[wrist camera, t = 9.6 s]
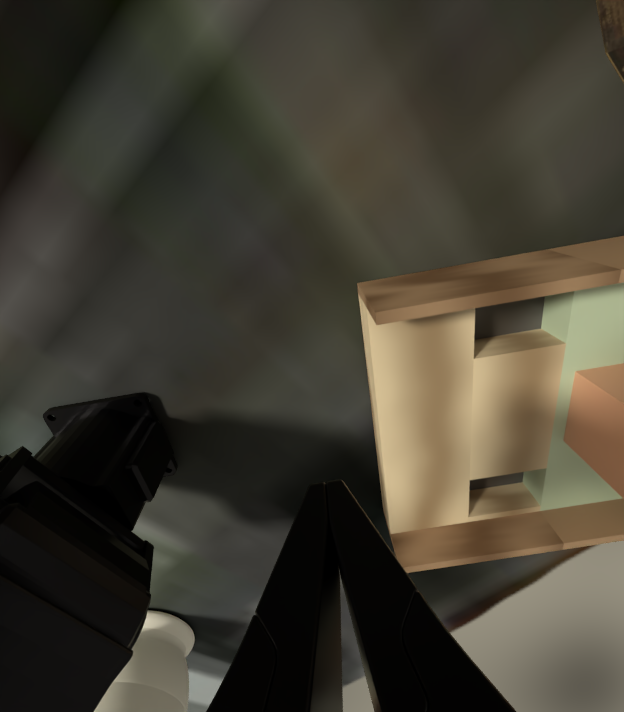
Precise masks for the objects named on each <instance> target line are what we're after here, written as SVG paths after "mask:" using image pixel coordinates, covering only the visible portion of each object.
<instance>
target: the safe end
mask: <svg viewBox="0 0 624 712" xmlns="http://www.w3.org/2000/svg"><path fill="white" fill-rule="evenodd" d="M547 250H551V251H555V252H558V253H562V254H566V255H569V256H573V257H577V258H580V259H584V260H588V261H592V262H595V263H599V264H603V265H606V266H610V267H614V268H617V269H621V274H620V279H619V283H618V284H612V285H606V286H600V287H595V288H589V289H583V290H577V291H572V292H566V293H560V294H554V295H549V296H545V300H544V308H543V317H542V325H541V329H543V330H544V331H546V332H548V333H549V334H551V335H553V336H554V337H556V338H558V339H559V340H561V341H563V342H564V343H566V347H565V354H564V360H563V367H562V373H561V379H560V386H559V392H558V399H557V405H556V411H555V418H554V424H553V431H552V437H551V443H550V450H549V456H548V463H547V468H545V469H538V470H532V471H526V472H524V475H523V483H524V485H525V486H526V487H527V489H528V490H529V491H530V493H531V494H532V495H533V497H534V498H535V499H536V501H537V502H538V503H539V505H540V506H541V507H540V512H541V513H542V515H543V516H544V517H545V519H546V520H547V521H548V523H549V524H550V525H551V527H552V528H553V529H554V531H555V532H556V533H557V535H558V536H559V537H560V539H561V540H562V541H563V543H564V546H563V549H570V548H577V547H583V546H590V545H596V544H603V543H609V542H616V541H622V540H624V499H623V498H622V497H621V496H620V495H619V494H618V493H617V492H616V491H615V490H614V489H613V488H612V487H611V486H610V485H609V484H608V483H607V482H606V481H605V480H604V479H602V478H601V477H600V476H599V475H598V474H597V473H596V472H595V471H594V470H593V469H592V468H591V467H590V466H589V465H588V464H587V463H586V462H585V461H584V460H583V459H582V458H581V457H580V456H579V455H578V454H577V453H576V452H574V451H573V450H572V449H571V448H570V447H569V446H568V445H567V444H566V443H565V442H564V441H563V440H564V434H565V428H566V422H567V417H568V411H569V405H570V399H571V393H572V388H573V382H574V376H575V371H580V370H586V369H592V368H598V367H604V366H610V365H616V364H622V363H624V236H620V237H614V238H609V239H603V240H598V241H592V242H586V243H581V244H575V245H569V246H564V247H558V248H552V249H547Z"/></svg>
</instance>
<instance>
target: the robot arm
mask: <svg viewBox="0 0 624 712" xmlns="http://www.w3.org/2000/svg"><path fill="white" fill-rule="evenodd" d="M136 400H140V401H141V402H142V403H138V402H137V401H136ZM52 415H54V416H55V417H53V416H52ZM43 418H44V420H45V422H46V424H47V425H48V427H49V429H50V430H51V432H52V433H53V435H54V436H53V437H52V438H51V439H50V440H49V441H48V442H47V443H46V444H45V445H44V446H43V447H42V448H41V449H40V451H39V452H38V453H37V454H36V455H35V456H34V457H33V456H31V454H32V453H31V452H30V451H29V450H27V449H26V448H25V447H23V446H22V447H20V448H19V449H17V450H16V451H14V452H13V453H11V454H10V455H5V456H3V457H2V456H1V455H0V712H94V710H95V709H96V707H97V706H98V704H99V702H100V701H101V699H102V698H103V696H104V695H105V693H106V692H107V690H108V688H109V687H110V685H111V684H112V682H113V681H114V680H115V678H116V677H117V676H118V675H119V673H120V672H121V671H122V670H123V668H124V667H125V666H126V665H127V663H128V662H129V661H130V659H131V658H132V656H133V650H131V649H132V648H133V646H134V644H135V643H136V641H137V639H138V637H139V635H140V633H141V631H142V628H143V625H144V623H145V620H146V616H147V611H148V607H149V604H150V600H151V594H150V593H149V592H150V581H151V571H152V560H153V549H154V546H153V545H152V544H151V543H149V542H148V541H146V540H145V541H143V540H142V539H141V538H139V537H138V536H137V535H135V534H134V533H133V532H131V531H132V530H133V528H134V526H135V524H136V522H137V520H138V518H139V515H140V513H141V511H142V509H143V507H144V505H145V502H151V500H152V499H153V498H154V496H155V493H156V491H157V489H158V487H159V484H160V482H161V480H162V478H163V477H166V476H171V475H174V474H175V472H176V470H177V463H176V461H175V459H174V457H173V450H172V447H171V445H170V443H169V440H168V438H167V436H166V433H165V431H164V429H163V427H162V424H161V423H160V422H159V421H158V420H157V418H156V415H155V413H154V411H153V408H152V406H151V404H150V402H149V399H148V398H147V396H146V395H144V394H142V393H135V394H129V395H123V396H117V397H111V398H105V399H99V400H94V401H88V402H82V403H76V404H70V405H64V406H58V407H53V408H49V409H48V410H47V411H46V412H45V413H44V414H43ZM167 467H169V468H171V469H169V468H167ZM339 570H340V574H339ZM340 575H341V579H342V584H343V588H344V592H345V596H346V600H347V604H348V608H349V612H350V616H351V620H352V624H353V628H354V632H355V636H356V640H357V644H358V648H359V652H360V656H361V660H362V664H363V668H364V672H365V676H366V680H367V684H368V688H369V692H370V696H371V700H372V704H373V708H374V712H516V711H515V710H514V708H513V707H512V706H511V705H510V704H509V703H508V701H507V700H506V699H505V698H504V697H503V696H502V694H501V693H500V692H499V691H498V690H497V689H496V687H495V686H494V685H493V684H492V683H491V682H490V680H489V679H488V678H487V677H486V676H485V675H484V674H483V672H482V671H481V670H480V669H479V668H478V667H477V666H476V664H475V663H474V662H473V661H472V660H471V658H470V657H469V656H468V655H467V654H466V652H465V651H464V650H463V649H462V647H461V646H460V645H459V644H458V643H457V641H456V640H455V639H454V638H453V637H452V635H451V634H450V633H449V632H448V630H447V629H446V628H445V626H444V625H443V623H442V622H441V621H440V619H439V618H438V617H437V615H436V614H435V613H434V611H433V610H432V608H431V607H430V606H429V604H428V603H427V601H426V600H425V598H424V597H423V596H422V594H421V593H420V592H419V591H417V587H416V586H415V584H414V583H413V581H412V580H411V578H410V577H409V576H408V574H407V573H406V571H405V570H404V568H403V567H402V565H401V564H400V563H399V561H398V560H397V558H396V557H395V555H394V554H393V552H392V551H391V550H390V548H389V547H388V545H387V544H386V542H385V541H384V539H383V538H382V537H381V535H380V534H379V532H378V531H377V529H376V528H375V526H374V525H373V524H372V522H371V521H370V519H369V518H368V516H367V515H366V513H365V512H364V510H363V509H362V508H361V506H360V505H359V503H358V502H357V500H356V499H355V497H354V496H353V495H352V493H351V492H350V490H349V489H348V487H347V486H346V484H345V483H344V482H343V481H342V480H341V479H339V480H332V481H328V482H327V483H325V482H320V483H313V484H310V485H309V487H308V489H307V491H306V494H305V496H304V498H303V501H302V503H301V505H300V508H299V510H298V512H297V515H296V517H295V519H294V522H293V524H292V526H291V529H290V531H289V533H288V536H287V538H286V540H285V543H284V545H283V548H282V550H281V552H280V555H279V557H278V559H277V562H276V564H275V566H274V569H273V571H272V573H271V576H270V578H269V580H268V583H267V585H266V587H265V590H264V592H263V594H262V597H261V599H260V601H259V604H258V606H257V608H256V611H255V614H256V615H254V616H253V617H252V620H251V622H250V624H249V627H248V629H247V631H246V634H245V636H244V638H243V640H242V642H241V645H240V647H239V649H238V651H237V653H236V656H235V658H234V660H233V662H232V664H231V666H230V668H229V670H228V672H227V674H226V676H225V677H224V679H223V681H222V683H221V685H220V687H219V689H218V691H217V693H216V695H215V697H214V698H213V700H212V702H211V704H210V706H209V708H208V709H207V711H206V712H343V698H342V651H341V603H340Z"/></svg>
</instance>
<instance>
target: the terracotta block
mask: <svg viewBox="0 0 624 712" xmlns="http://www.w3.org/2000/svg"><path fill="white" fill-rule="evenodd" d="M563 441H564V442H565V443H566V444H567V445H568V446H569V447H570V448H571V449H572V450H573V451H574V452H576V453H577V454H578V455H579V456H580V457H581V458H582V459H583V460H584V461H585V462H586V463H587V464H588V465H589V466H590V467H591V468H592V469H593V470H594V471H595V472H596V473H597V474H598V475H599V476H600V477H601V478H602V479H604V480H605V481H606V482H607V483H608V484H609V485H610V486H611V487H612V488H613V489H614V490H615V491H616V492H617V493H618V494H619V495H620V496H621V497H622V498H623V499H624V363H622V364H616V365H610V366H604V367H598V368H592V369H586V370H580V371H575V376H574V382H573V388H572V393H571V399H570V405H569V411H568V417H567V422H566V428H565V434H564V440H563Z"/></svg>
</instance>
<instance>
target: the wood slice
mask: <svg viewBox="0 0 624 712" xmlns="http://www.w3.org/2000/svg"><path fill="white" fill-rule="evenodd" d="M596 3H597V9H598V14H599V20H600V25H601V30H602V36H603V41H604V47H605V52H606V55H607V57H608V58H609V60H610V62H611V63H612V65H613V66H614V68H615V70H616V71H617V73H618V75H619V76H620V78H621V80H622V81H623V83H624V0H596Z"/></svg>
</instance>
